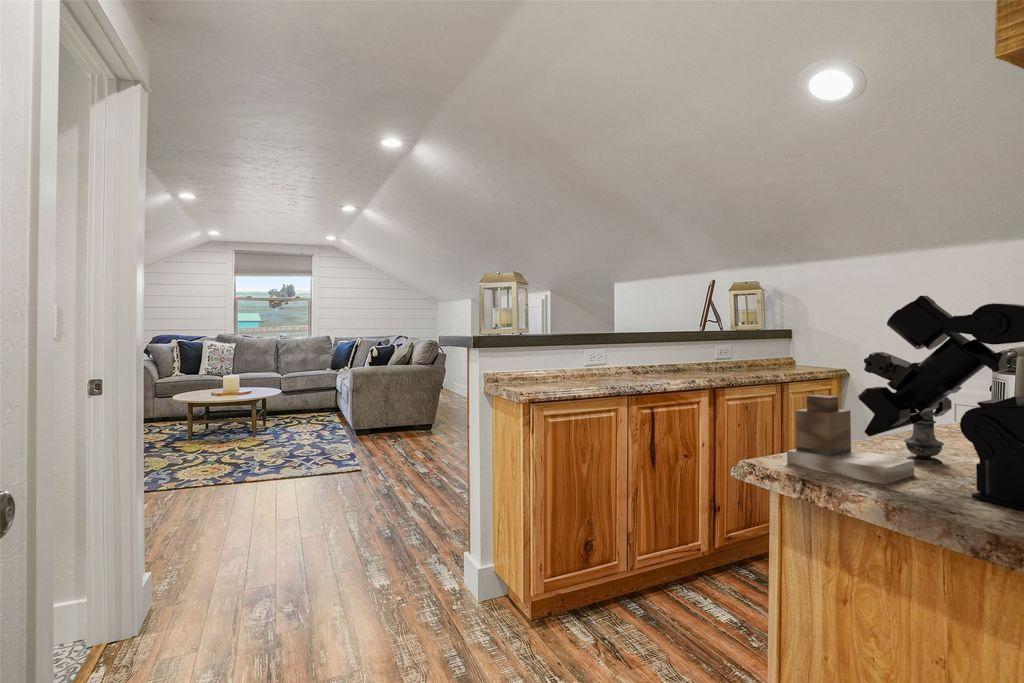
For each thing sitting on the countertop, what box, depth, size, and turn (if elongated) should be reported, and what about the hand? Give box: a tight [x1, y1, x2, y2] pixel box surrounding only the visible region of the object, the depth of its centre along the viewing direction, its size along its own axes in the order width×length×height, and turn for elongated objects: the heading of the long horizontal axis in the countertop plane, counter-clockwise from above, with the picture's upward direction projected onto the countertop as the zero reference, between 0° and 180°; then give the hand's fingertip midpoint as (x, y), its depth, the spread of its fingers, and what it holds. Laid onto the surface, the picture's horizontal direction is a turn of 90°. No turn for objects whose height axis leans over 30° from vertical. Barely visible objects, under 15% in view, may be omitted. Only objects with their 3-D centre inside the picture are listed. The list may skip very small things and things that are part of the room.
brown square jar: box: [794, 394, 852, 456], centre depth 96 cm, size 6×7×10 cm
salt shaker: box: [903, 410, 945, 466], centre depth 97 cm, size 6×6×12 cm
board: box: [786, 448, 915, 486], centre depth 92 cm, size 16×10×2 cm, turn 30°
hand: (867, 434), depth 89 cm, fingers closed
